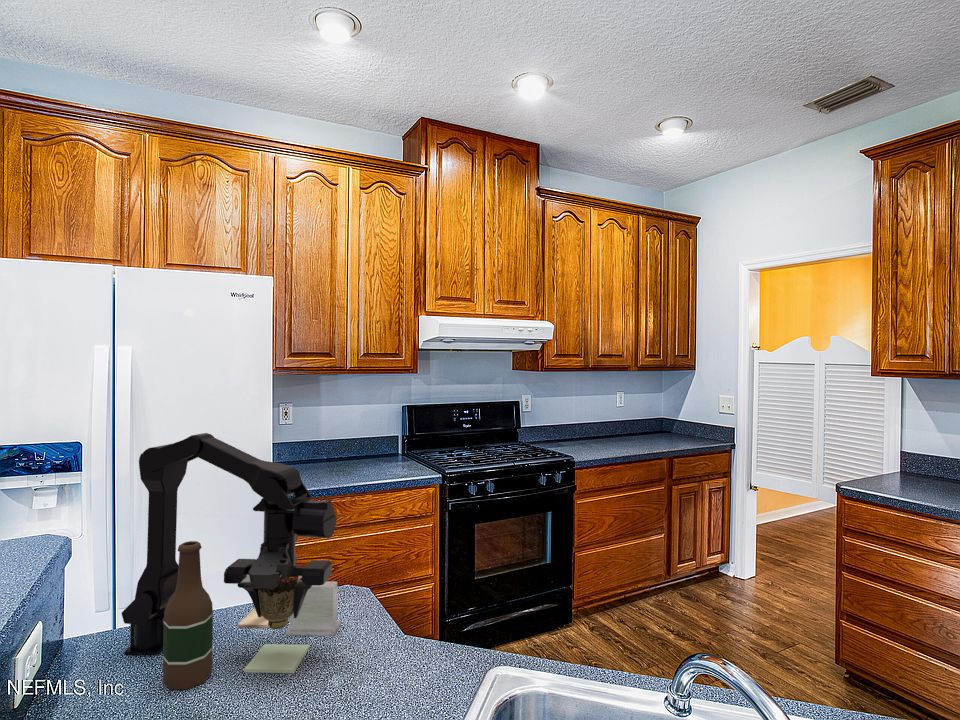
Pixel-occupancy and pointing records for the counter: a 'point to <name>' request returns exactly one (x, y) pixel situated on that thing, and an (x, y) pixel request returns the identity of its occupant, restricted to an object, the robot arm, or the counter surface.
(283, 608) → the brown ornate lampshade
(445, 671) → the counter surface
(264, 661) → the sage mat
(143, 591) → the robot arm
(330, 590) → the box
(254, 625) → the oak mat
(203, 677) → the beer bottle
